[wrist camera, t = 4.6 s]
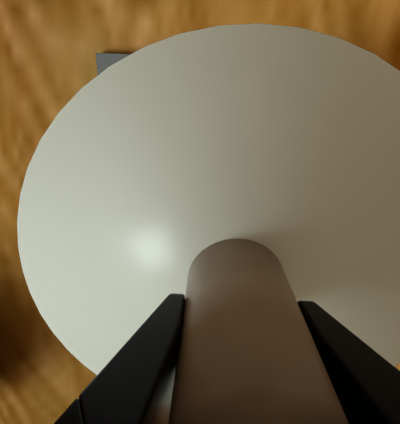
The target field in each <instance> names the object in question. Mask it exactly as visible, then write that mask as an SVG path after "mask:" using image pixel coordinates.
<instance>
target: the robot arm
mask: <svg viewBox="0 0 400 424" xmlns="http://www.w3.org/2000/svg"><path fill="white" fill-rule="evenodd" d="M297 303H298V305H299V307H300V310H301V312H302V314H303V317H304V319H305V321H306V324H307V326H308V329H309V331H310V333H311V336H312V338H313V340H314V343H315V345H316V347H317V350H318V352H319V354H320V357H321V359H322V361H323V364H324V366H325V368H326V371H327V373H328V375H329V378H330V380H331V383H332V385H333V387H334V390H335V392H336V394H337V397H338V399H339V401H340V404H341V406H342V408H343V411H344V413H345V415H346V418H347V420H348V422H349V424H400V371H399V370H398V369H397V368H395V367H394V366H393V365H392V364H390V363H389V362H388V361H387V360H385V359H384V358H383V357H382V356H381V355H379V354H378V353H377V352H376V351H374V350H373V349H372V348H371V347H369V346H368V345H367V344H366V343H364V342H363V341H362V340H361V339H360V338H358V337H357V336H356V335H355V334H353V333H352V332H351V331H350V330H348V329H347V328H346V327H345V326H344V325H342V324H341V323H340V322H339V321H337V320H336V319H335V318H334V317H332V316H331V315H330V314H329V313H327V312H326V311H325V310H324V309H323V308H321V307H320V306H319V305H318V304H316V303H315V302H313V301H302V300H300V301H298V302H297ZM184 304H185V295H184V294H176V293H171V294H169V295H168V296H167V297H166V298H165V299H164V301H163V302H162V303H161V304H160V305H159V306H158V307H157V308H156V310H155V311H154V312H153V313H152V314H151V315H150V316H149V317H148V319H147V320H146V321H145V322H144V323H143V324H142V325H141V326H140V328H139V329H138V330H137V331H136V332H135V333H134V334H133V335H132V337H131V338H130V339H129V340H128V341H127V342H126V343H125V344H124V346H123V347H122V348H121V349H120V350H119V351H118V352H117V353H116V355H115V356H114V357H113V358H112V359H111V360H110V361H109V362H108V364H107V365H106V366H105V367H104V368H103V369H102V370H101V371H100V373H99V374H98V375H97V376H96V377H95V378H94V379H93V380H92V382H91V383H90V384H89V385H88V386H87V387H86V388H85V390H84V391H83V392H82V393H81V394H80V395H79V399H75V400H74V402H73V403H72V404H71V405H70V406H69V407H68V408H67V410H66V411H65V412H64V413H63V414H62V415H61V416H60V417H59V418H58V419H57V421H56V422H55V423H54V424H168V422H169V415H170V407H171V400H172V392H173V385H174V377H175V370H176V362H177V354H178V348H179V341H180V334H181V327H182V319H183V312H184Z"/></svg>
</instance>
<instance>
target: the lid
mask: <svg viewBox="0 0 400 424" xmlns="http://www.w3.org/2000/svg"><path fill="white" fill-rule="evenodd" d="M17 231H18V249H19V254H20V260H21V265H22V270H23V273H24V276H25V279H26V282H27V285H28V288H29V291H30V294H31V296H32V298H33V300H34V302H35V304H36V306H37V308H38V310H39V312H40V314H41V316H42V317H43V319H44V320H45V322H46V323H47V325H48V326H49V328H50V329H51V331H52V332H53V333H54V335H55V336H56V337H57V338H58V339H59V340H60V342H61V343H62V344H63V345H64V346H65V347H66V349H67V350H68V351H69V352H70V353H71V354H73V355H74V356H75V357H76V358H77V359H78V360H79V361H80V362H81V363H82V364H83V365H84V366H86V367H87V368H88V369H90V370H91V371H92V372H94V373H95V374H96V375H98V374H99V373H100V371H101V370H102V369H103V368H104V367H105V366H106V365H107V364H108V362H109V361H110V360H111V359H112V358H113V357H114V356H115V355H116V353H117V352H118V351H119V350H120V349H121V348H122V347H123V346H124V344H125V343H126V342H127V341H128V340H129V339H130V338H131V337H132V335H133V334H134V333H135V332H136V331H137V330H138V329H139V328H140V326H141V325H142V324H143V323H144V322H145V321H146V320H147V319H148V317H149V316H150V315H151V314H152V313H153V312H154V311H155V310H156V308H157V307H158V306H159V305H160V304H161V303H162V302H163V301H164V299H165V298H166V297H167V296H168V295H169V294H171V293H176V294H184V295H185V304H184V312H183V319H182V327H181V334H180V341H179V348H178V354H177V362H176V370H175V377H174V385H173V392H172V400H171V407H170V415H169V422H168V424H349V422H348V420H347V418H346V415H345V413H344V411H343V408H342V406H341V404H340V401H339V399H338V397H337V394H336V392H335V390H334V387H333V385H332V383H331V380H330V378H329V375H328V373H327V371H326V368H325V366H324V364H323V361H322V359H321V357H320V354H319V352H318V350H317V347H316V345H315V343H314V340H313V338H312V336H311V333H310V331H309V329H308V326H307V324H306V321H305V319H304V317H303V314H302V312H301V310H300V307H299V305H298V303H297V302H298V301H300V300H302V301H313V302H315V303H316V304H318V305H319V306H320V307H321V308H323V309H324V310H325V311H326V312H327V313H329V314H330V315H331V316H332V317H334V318H335V319H336V320H337V321H339V322H340V323H341V324H342V325H344V326H345V327H346V328H347V329H348V330H350V331H351V332H352V333H353V334H355V335H356V336H357V337H358V338H360V339H361V340H362V341H363V342H364V343H366V344H367V345H368V346H369V347H371V348H372V349H373V350H374V351H376V352H377V353H378V354H379V355H381V356H382V357H383V358H384V359H385V360H387V361H388V362H389V363H390V364H392V365H393V366H396V365H397V364H398V363H399V362H400V71H399V70H398V69H396V68H395V67H393V66H392V65H390V64H389V63H387V62H386V61H384V60H383V59H381V58H380V57H378V56H377V55H375V54H374V53H371V52H369V51H367V50H365V49H362V48H360V47H358V46H356V45H354V44H351V43H349V42H347V41H345V40H343V39H340V38H337V37H334V36H330V35H326V34H322V33H319V32H315V31H311V30H308V29H304V28H299V27H290V26H280V25H270V24H260V23H259V24H240V25H222V26H215V27H210V28H205V29H201V30H196V31H191V32H186V33H181V34H178V35H175V36H173V37H170V38H167V39H165V40H162V41H159V42H157V43H154V44H151V45H149V46H146V47H143V48H141V49H139V50H138V51H136V52H134V53H132V54H131V55H129V56H127V57H125V58H123V59H122V60H120V61H118V62H116V63H115V64H113V65H111V66H109V67H108V68H107V69H105V70H104V71H103V72H102V73H100V74H99V75H98V76H97V77H95V78H94V79H93V80H91V81H90V82H89V83H88V84H86V85H85V86H84V87H83V88H81V89H80V90H79V92H78V93H77V94H76V95H75V96H74V97H73V98H72V99H71V100H70V101H69V102H68V103H67V104H66V106H65V107H64V108H63V109H62V110H61V111H60V112H59V113H58V114H57V116H56V117H55V119H54V120H53V122H52V123H51V125H50V126H49V128H48V129H47V131H46V132H45V134H44V135H43V137H42V138H41V140H40V142H39V144H38V146H37V148H36V151H35V153H34V155H33V157H32V159H31V161H30V164H29V166H28V169H27V172H26V176H25V179H24V183H23V186H22V190H21V194H20V201H19V209H18V218H17Z"/></svg>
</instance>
